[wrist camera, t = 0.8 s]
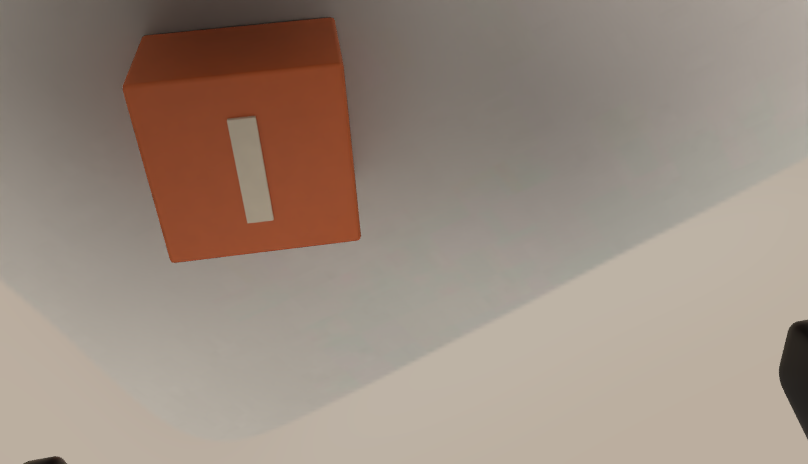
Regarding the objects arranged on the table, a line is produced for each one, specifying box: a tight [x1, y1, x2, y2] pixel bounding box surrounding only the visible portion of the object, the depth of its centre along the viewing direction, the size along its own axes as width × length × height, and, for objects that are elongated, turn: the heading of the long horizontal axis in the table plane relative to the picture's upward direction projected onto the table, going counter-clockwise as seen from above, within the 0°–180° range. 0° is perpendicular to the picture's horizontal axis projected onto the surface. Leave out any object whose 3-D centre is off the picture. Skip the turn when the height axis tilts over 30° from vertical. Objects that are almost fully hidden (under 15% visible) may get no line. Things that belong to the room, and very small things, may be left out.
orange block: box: [122, 17, 361, 263], centre depth 18 cm, size 4×4×3 cm
